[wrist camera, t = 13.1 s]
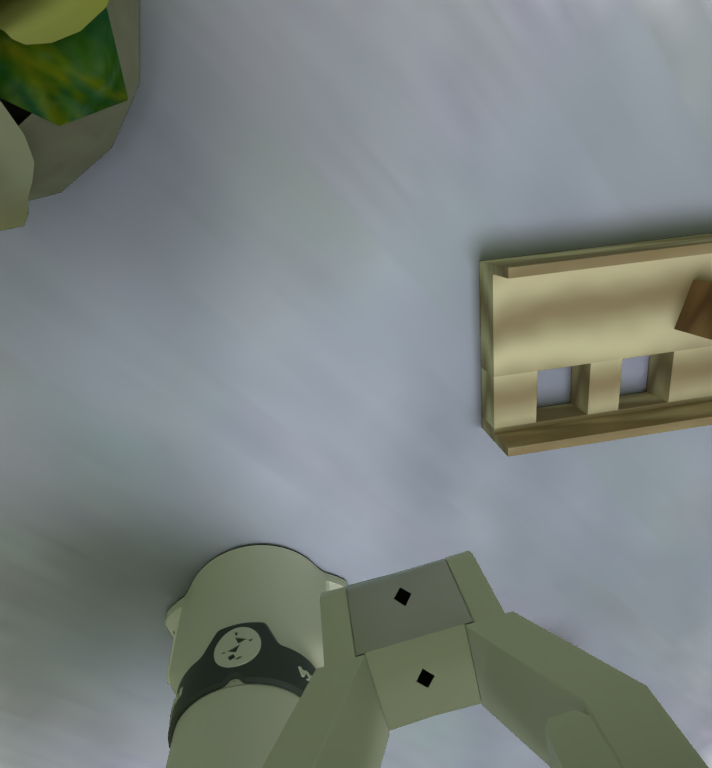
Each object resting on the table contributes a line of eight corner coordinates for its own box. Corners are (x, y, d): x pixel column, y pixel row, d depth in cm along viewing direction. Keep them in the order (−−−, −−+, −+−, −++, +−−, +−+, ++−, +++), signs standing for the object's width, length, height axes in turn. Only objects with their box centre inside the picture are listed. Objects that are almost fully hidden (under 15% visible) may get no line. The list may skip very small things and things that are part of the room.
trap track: (700, 395, 49) (763, 422, 43) (482, 428, 47) (513, 461, 41) (723, 231, 44) (800, 233, 37) (479, 261, 42) (514, 269, 35)
